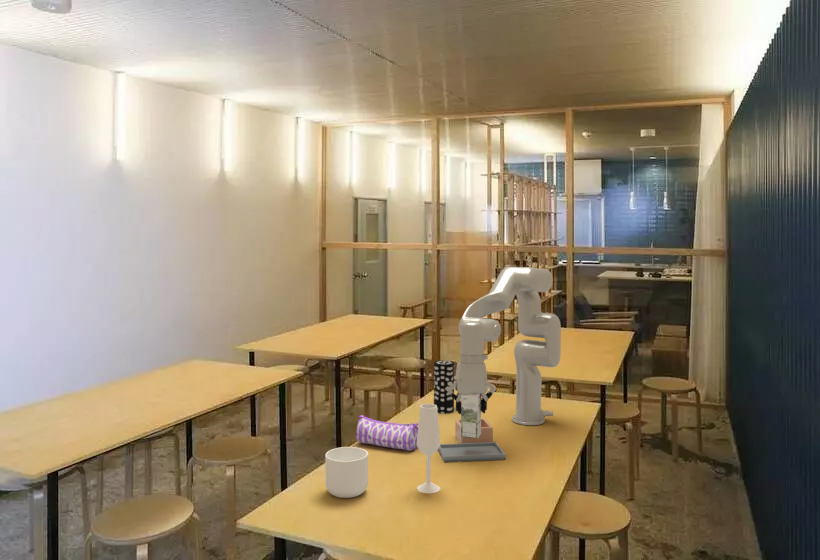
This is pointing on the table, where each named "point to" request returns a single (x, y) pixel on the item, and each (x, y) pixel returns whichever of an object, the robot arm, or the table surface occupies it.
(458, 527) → the table surface
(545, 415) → the robot arm
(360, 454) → the handleless ceramic cup
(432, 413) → the champagne flute
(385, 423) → the pencil case
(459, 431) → the holder
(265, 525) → the table surface
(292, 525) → the table surface
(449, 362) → the spotted tube
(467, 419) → the syrup box
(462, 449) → the tray
